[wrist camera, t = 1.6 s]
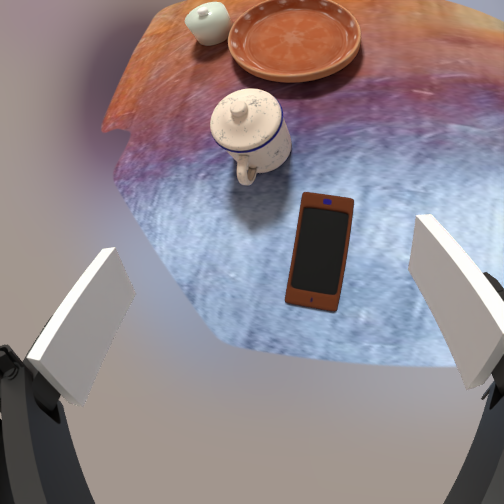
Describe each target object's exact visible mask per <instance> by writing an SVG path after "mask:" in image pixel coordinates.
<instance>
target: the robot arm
mask: <svg viewBox="0 0 504 504" xmlns="http://www.w3.org/2000/svg"><path fill="white" fill-rule="evenodd" d="M408 270H409V272H410V274H411V275H412V277H413V279H414V281H415V282H416V284H417V286H418V288H419V290H420V291H421V293H422V295H423V297H424V299H425V301H426V303H427V304H428V306H429V308H430V310H431V312H432V314H433V316H434V318H435V320H436V322H437V324H438V326H439V328H440V330H441V332H442V334H443V336H444V339H445V341H446V343H447V345H448V347H449V349H450V352H451V354H452V356H453V358H454V361H455V363H456V365H457V368H458V370H459V373H460V374H461V377H462V380H463V382H464V385H465V388H466V390H469V389H472V388H475V387H477V386H480V385H482V384H484V383H485V381H486V380H487V379H488V377H489V376H490V375H491V374H492V376H493V378H494V382H493V383H492V384H491V385H490V387H489V388H488V389H487V390H486V392H485V393H484V394H483V396H482V398H481V399H482V400H483V399H485V397H486V396H487V395H488V394H489V395H488V398H487V402H486V405H485V409H484V412H483V415H482V418H481V421H480V424H479V427H478V429H477V432H476V435H475V438H474V440H473V443H472V445H471V448H470V450H469V453H468V455H467V457H466V460H465V462H464V464H463V466H462V469H461V471H460V473H459V475H458V477H457V479H456V481H455V483H454V485H453V487H452V489H451V491H450V492H449V494H448V496H447V498H446V500H445V502H444V503H443V504H504V288H503V287H502V286H501V284H500V283H499V282H498V281H497V280H496V279H495V278H494V277H492V276H491V275H490V274H488V273H487V272H485V273H482V272H481V271H480V269H479V268H478V267H477V266H476V264H475V263H474V262H473V261H472V259H471V258H470V257H469V256H468V255H467V253H466V252H465V251H464V250H463V249H462V248H461V246H460V245H459V244H458V243H457V242H456V241H455V240H454V238H453V237H452V236H451V235H450V234H449V233H448V232H447V231H446V230H445V229H444V227H443V226H442V225H441V224H440V223H439V222H438V221H437V220H436V219H435V218H434V217H433V216H432V215H431V214H428V215H416V219H415V228H414V235H413V242H412V249H411V255H410V261H409V267H408ZM135 295H136V293H135V291H134V288H133V286H132V284H131V282H130V280H129V277H128V275H127V273H126V271H125V268H124V266H123V264H122V261H121V259H120V257H119V254H118V252H117V250H116V248H115V247H114V248H106V249H102V251H101V252H100V253H99V254H98V256H97V257H96V258H95V259H94V261H93V262H92V263H91V264H90V266H89V267H88V268H87V270H86V271H85V272H84V273H83V275H82V276H81V277H80V279H79V280H78V281H77V283H76V284H75V285H74V287H73V288H72V289H71V291H70V292H69V294H68V295H67V297H66V298H65V299H64V301H63V302H62V304H61V305H60V306H59V308H58V309H57V311H56V312H55V314H54V315H53V316H52V317H51V318H50V319H49V320H48V322H47V323H46V325H45V326H44V327H45V328H43V330H42V331H41V333H40V336H38V337H37V339H36V340H35V342H34V344H33V345H32V347H31V349H30V350H29V352H28V353H27V355H26V357H25V359H24V360H23V362H22V361H21V360H20V358H19V357H18V356H17V355H16V354H15V353H14V351H13V350H12V349H11V348H10V346H9V345H2V346H0V412H1V414H2V420H1V419H0V504H95V502H94V500H93V498H92V495H91V493H90V490H89V488H88V485H87V483H86V481H85V478H84V475H83V472H82V470H81V467H80V464H79V461H78V458H77V455H76V452H75V449H74V446H73V442H72V439H71V435H70V432H69V428H68V424H67V420H66V416H65V412H64V408H63V405H62V403H61V402H60V401H59V398H60V395H62V396H63V397H64V398H65V399H66V400H67V401H68V402H69V403H70V404H74V405H78V406H82V407H83V406H84V404H85V402H86V399H87V397H88V395H89V392H90V390H91V387H92V385H93V383H94V380H95V378H96V376H97V373H98V371H99V369H100V367H101V365H102V362H103V360H104V358H105V356H106V354H107V352H108V349H109V347H110V345H111V343H112V341H113V339H114V337H115V335H116V333H117V330H118V329H119V327H120V325H121V323H122V321H123V319H124V316H125V315H126V313H127V311H128V309H129V307H130V305H131V303H132V301H133V299H134V297H135Z"/></svg>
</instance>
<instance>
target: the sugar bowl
mask: <svg viewBox="0 0 504 504" xmlns="http://www.w3.org/2000/svg"><path fill="white" fill-rule="evenodd" d="M185 24H186V25H187V27H188V28H189V29H190V31H191V32H192V34H193V35H194V36H195V38H196V39H197V41H198V42H199V43H200V44H201V45H205V46H211V45H216V44H219V43H221V42H223V41H225V40H226V39H228V36H229V32H230V30H231V28H232V26H233V22H232V20H231V18H230V16H229V14H228V12H227V10H226V8H225V6H224V5H223V4H222V3H220V2H210V3H206V4H203V5H200V6H198V7H197V8H195V9H193V10H192V11H191V12H190V13H189V14H188V15H187V17H186V18H185Z"/></svg>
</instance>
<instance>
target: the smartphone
mask: <svg viewBox="0 0 504 504" xmlns="http://www.w3.org/2000/svg"><path fill="white" fill-rule="evenodd" d="M353 207H354V200H353V199H351V198H346V197H340V196H333V195H325V194H318V193H310V192H304V193H303V194H302V199H301V205H300V212H299V218H298V224H297V231H296V237H295V243H294V249H293V255H292V261H291V266H290V272H289V278H288V283H287V289H286V295H285V302H286V303H289V304H295V305H300V306H305V307H311V308H316V309H321V310H327V311H337V308H338V303H339V298H340V293H341V288H342V282H343V277H344V271H345V265H346V259H347V252H348V246H349V239H350V232H351V224H352V216H353Z"/></svg>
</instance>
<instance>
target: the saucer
mask: <svg viewBox="0 0 504 504" xmlns="http://www.w3.org/2000/svg"><path fill="white" fill-rule="evenodd" d="M360 43H361V29H360V26H359V24H358V22H357V20H356V19H355V17H354V16H353V15H352V14H351V13H350V12H349V11H348V10H347V9H345V8H344V7H342V6H341V5H339V4H337V3H335V2H333V1H330V0H267V1H264V2H262V3H259V4H257V5H256V6H254V7H252V8H250V9H249V10H247V11H246V12H245V13H243V14H242V15H241V16H240V17H239V18H238V19H237V20H236V22H235V23H234V24H233V26H232V28H231V30H230V32H229V36H228V47H229V50H230V52H231V54H232V56H233V58H234V59H235V61H236V62H237V63H238V64H239V66H240V67H242V68H243V69H244V70H246V71H247V72H249V73H250V74H252V75H255V76H257V77H260V78H263V79H266V80H271V81H276V82H305V81H311V80H316V79H320V78H323V77H326V76H329V75H331V74H334V73H336V72H338V71H339V70H341V69H343V68H344V67H345V66H347V65H348V64H349V63H350V62H351V61H352V60H353V59H354V58H355V56H356V55H357V53H358V51H359V48H360Z"/></svg>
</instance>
